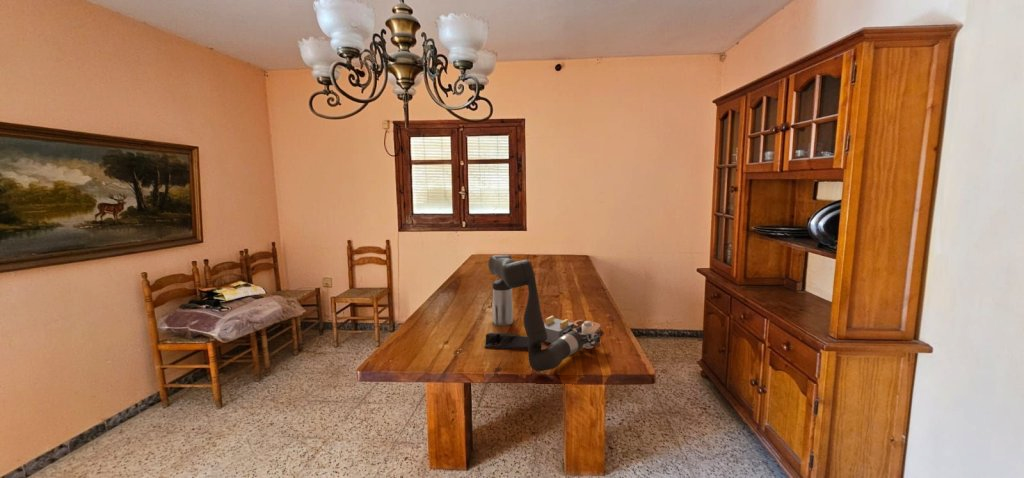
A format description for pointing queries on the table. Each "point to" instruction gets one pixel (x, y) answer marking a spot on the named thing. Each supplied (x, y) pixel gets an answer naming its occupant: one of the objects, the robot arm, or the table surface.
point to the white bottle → (588, 328)
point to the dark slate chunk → (506, 341)
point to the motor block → (556, 328)
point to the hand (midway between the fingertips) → (589, 330)
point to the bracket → (580, 322)
